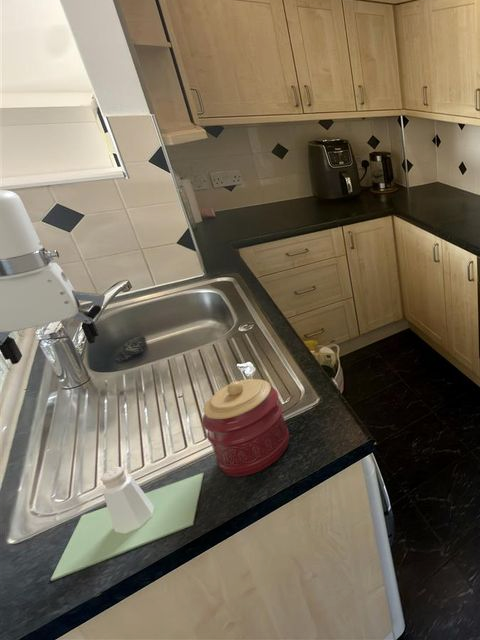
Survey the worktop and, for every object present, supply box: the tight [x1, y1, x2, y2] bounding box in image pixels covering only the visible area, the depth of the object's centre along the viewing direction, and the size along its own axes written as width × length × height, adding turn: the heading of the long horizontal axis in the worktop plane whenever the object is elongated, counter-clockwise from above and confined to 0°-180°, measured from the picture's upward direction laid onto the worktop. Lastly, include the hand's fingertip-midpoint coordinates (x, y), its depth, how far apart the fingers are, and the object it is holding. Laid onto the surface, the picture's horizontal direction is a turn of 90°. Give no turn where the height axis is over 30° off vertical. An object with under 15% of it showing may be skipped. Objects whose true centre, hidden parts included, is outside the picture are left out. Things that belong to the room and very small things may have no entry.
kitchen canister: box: [201, 378, 290, 478], centre depth 82 cm, size 13×13×18 cm
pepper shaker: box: [100, 466, 154, 534], centre depth 69 cm, size 5×5×11 cm
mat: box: [50, 472, 205, 582], centre depth 71 cm, size 18×12×1 cm, turn 119°
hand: (56, 350), depth 75 cm, fingers open, 9 cm apart
